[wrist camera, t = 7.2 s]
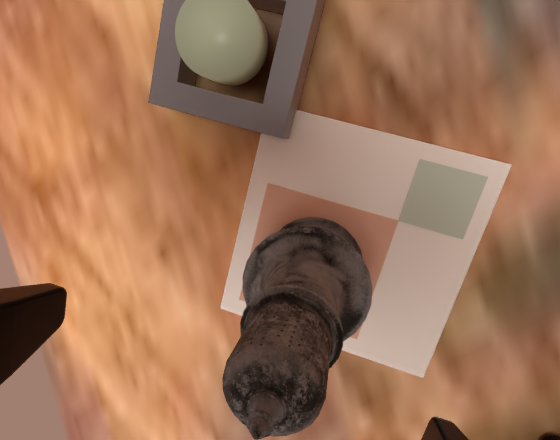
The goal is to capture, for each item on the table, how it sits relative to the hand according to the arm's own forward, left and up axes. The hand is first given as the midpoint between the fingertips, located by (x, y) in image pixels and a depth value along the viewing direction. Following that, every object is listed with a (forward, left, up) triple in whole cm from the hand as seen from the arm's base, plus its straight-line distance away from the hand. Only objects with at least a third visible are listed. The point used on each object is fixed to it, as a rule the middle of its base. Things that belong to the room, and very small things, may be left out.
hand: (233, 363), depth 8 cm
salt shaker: (-1, +1, -12) cm, 12 cm away
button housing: (+6, -8, -12) cm, 16 cm away
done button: (+6, -8, -10) cm, 14 cm away
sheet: (-2, 0, -12) cm, 12 cm away
